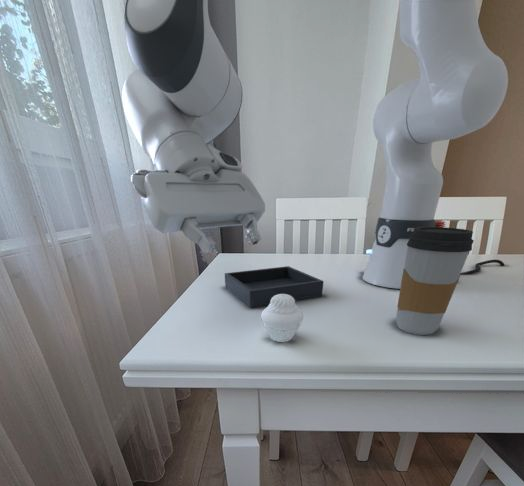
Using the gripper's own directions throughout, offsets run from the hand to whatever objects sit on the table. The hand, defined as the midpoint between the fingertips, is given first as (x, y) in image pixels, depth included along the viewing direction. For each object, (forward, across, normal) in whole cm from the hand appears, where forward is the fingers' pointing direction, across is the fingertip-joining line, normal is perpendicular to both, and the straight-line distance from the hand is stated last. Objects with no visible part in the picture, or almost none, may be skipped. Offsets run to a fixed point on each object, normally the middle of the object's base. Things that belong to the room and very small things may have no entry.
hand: (234, 245), depth 45 cm
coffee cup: (+26, +18, -8) cm, 32 cm away
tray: (+4, +16, +13) cm, 21 cm away
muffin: (+16, 0, +2) cm, 16 cm away
